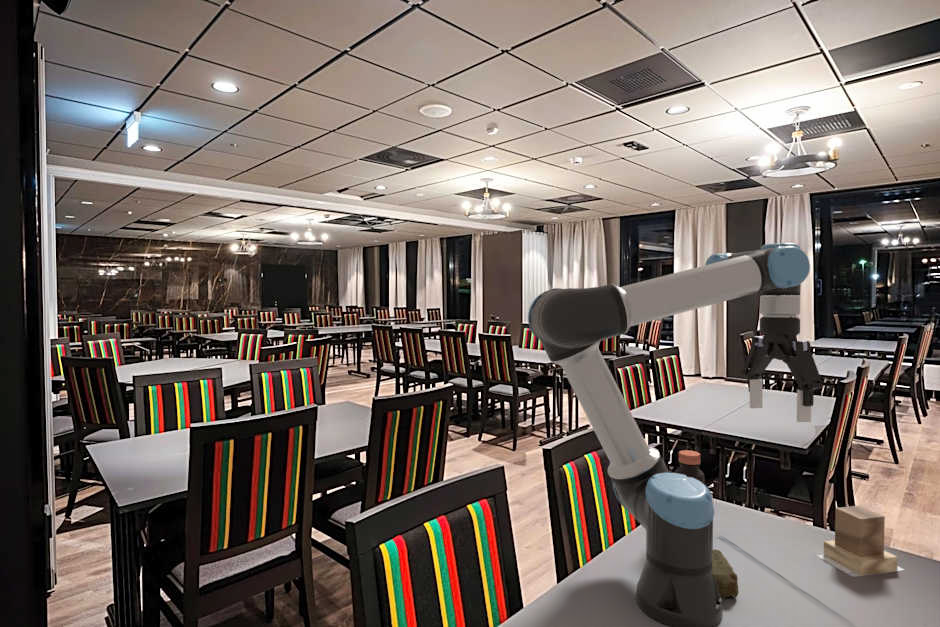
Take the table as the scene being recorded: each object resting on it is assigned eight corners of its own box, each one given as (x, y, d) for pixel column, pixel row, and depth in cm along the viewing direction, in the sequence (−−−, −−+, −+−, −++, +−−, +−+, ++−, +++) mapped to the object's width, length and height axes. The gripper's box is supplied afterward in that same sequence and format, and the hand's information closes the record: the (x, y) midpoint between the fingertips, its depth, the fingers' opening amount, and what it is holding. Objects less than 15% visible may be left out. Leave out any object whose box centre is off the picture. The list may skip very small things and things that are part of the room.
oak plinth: (860, 575, 109) (861, 561, 109) (823, 554, 118) (823, 541, 118) (897, 571, 111) (897, 556, 111) (857, 550, 119) (858, 537, 119)
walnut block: (860, 557, 110) (860, 519, 110) (834, 544, 116) (835, 507, 116) (883, 554, 112) (884, 516, 111) (857, 541, 118) (858, 505, 117)
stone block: (719, 570, 113) (720, 547, 113) (740, 602, 102) (740, 576, 102) (691, 569, 114) (691, 546, 114) (708, 600, 103) (708, 574, 103)
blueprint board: (852, 581, 109) (852, 576, 108) (815, 560, 117) (815, 555, 117) (905, 574, 111) (905, 569, 111) (865, 554, 120) (865, 549, 120)
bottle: (708, 533, 131) (709, 453, 130) (696, 542, 126) (697, 459, 125) (681, 525, 136) (682, 447, 135) (669, 533, 131) (669, 452, 130)
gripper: (845, 318, 103) (844, 427, 103) (753, 314, 127) (752, 402, 128) (812, 318, 101) (810, 429, 102) (725, 314, 126) (724, 403, 127)
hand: (778, 414), depth 115 cm, fingers open, 13 cm apart
